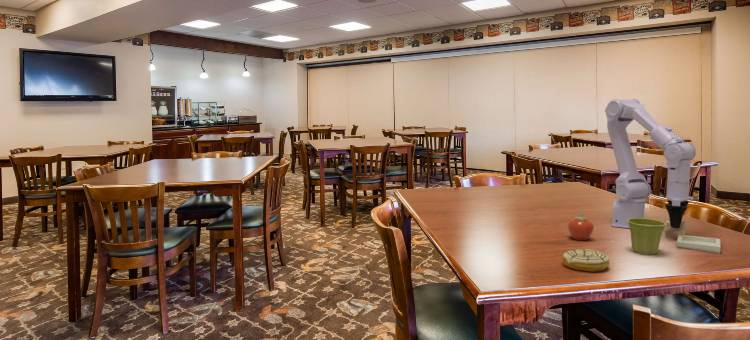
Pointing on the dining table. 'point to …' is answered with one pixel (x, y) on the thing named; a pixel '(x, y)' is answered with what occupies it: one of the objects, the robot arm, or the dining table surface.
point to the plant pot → (645, 234)
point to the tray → (698, 243)
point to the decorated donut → (586, 260)
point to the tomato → (580, 228)
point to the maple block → (674, 230)
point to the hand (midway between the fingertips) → (676, 225)
